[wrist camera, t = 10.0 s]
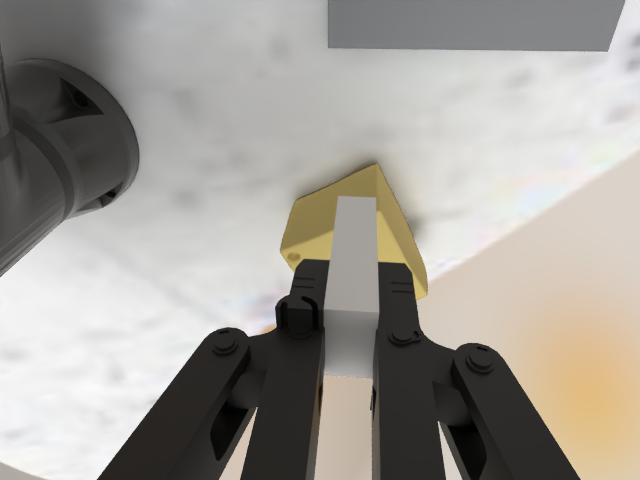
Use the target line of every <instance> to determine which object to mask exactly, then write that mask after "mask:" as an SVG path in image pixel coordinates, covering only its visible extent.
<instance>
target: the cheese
mask: <svg viewBox="0 0 640 480" xmlns="http://www.w3.org/2000/svg"><path fill="white" fill-rule="evenodd" d="M338 196H351V197H375V198H376V217H377V252H378V262H394V263H405V264H406V265H407V266H408V268H409V269H410V270H411V272H412V275H413V282H414V289H415V296H416V300H418V299H421V298H423V297H425V296H427V291H428V284H427V274H426V269H425V266H424V263H423V260H422V257H421V255H420V253H419V251H418V248H417V246H416V243H415V241H414V237H413V234H412V232H411V230H410V228H409V226H408V223H407V221H406V219H405V217H404V214H403V212H402V210H401V208H400V206H399V204H398V202H397V200H396V198H395V196H394V194H393V193H392V191H391V189H390V187H389V185H388V183H387V181H386V179H385V177H384V175H383V173H382V171H381V169H380V166H379V164H378V163H376V164H374V165H371V166H369V167H366V168H364V169H362V170H360V171H358V172H356V173H354V174H352V175H350V176H348V177H346V178H344V179H342V180H340V181H338V182H336V183H334V184H332V185H330V186H328V187H325V188H323V189H321V190H319V191H316V192H314V193H312V194H309V195H307V196H305V197H302V198H300V199H297V200H296V201H295V203H294V205H293V207H292V210H291V212H290V215H289V219H288V222H287V226H286V229H285V232H284V235H283V239H282V243H281V248H280V253H281V255H282V256H283V258H284V259H285V260H286V262H287V263H288V265H289V266H290V268H291V269H292V270H293V272H294V273H295V269H296V267H297V266H298V264H299V263H300V262H301V261H302V260H303V259H320V260H330V256H331V248H332V241H333V233H334V225H335V217H336V210H337V202H338Z"/></svg>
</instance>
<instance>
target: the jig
mask: <svg viewBox="0 0 640 480" xmlns="http://www.w3.org/2000/svg"><path fill="white" fill-rule="evenodd" d="M624 3H625V0H328V48H365V49H444V50H523V51H602V52H608V49H609V46H610V43H611V41H612V38H613V35H614V32H615V29H616V26H617V23H618V20H619V18H620V15H621V12H622V9H623V6H624Z"/></svg>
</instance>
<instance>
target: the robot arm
mask: <svg viewBox="0 0 640 480" xmlns="http://www.w3.org/2000/svg"><path fill="white" fill-rule="evenodd" d="M138 161H139V154H138V145H137V141H136V137H135V134H134V131H133V128H132V126H131V124H130V122H129V120H128V118H127V116H126V115H125V113H124V111H123V110H122V108H121V107H120V106H119V104H118V103H117V102H116V101H115V99H114V98H113V97H112V96H111V95H110V94H109V93H108V92H107V91H106V90H105V89H104V88H103V87H102V86H101V85H100V84H98V83H97V82H96V81H95V80H93V79H92V78H90V77H89V76H87V75H86V74H84V73H83V72H81V71H79V70H77V69H75V68H73V67H71V66H68V65H66V64H63V63H60V62H56V61H52V60H46V59H28V60H23V61H19V62H16V63H13V64H9V65H6V66H4V65H3V58H2V52H1V45H0V277H1V276H2V275H3V274H4V273H5V272H6V271H8V270H9V269H10V268H11V267H12V266H13V265H14V264H15V263H16V262H18V261H19V260H20V259H21V258H22V257H23V256H24V255H25V254H27V253H28V252H29V251H30V250H31V249H32V248H33V247H34V246H36V245H37V244H38V243H39V242H40V241H41V240H42V239H43V238H45V237H46V236H47V235H48V234H49V233H50V232H51V231H52V230H53V229H55V228H56V227H57V226H58V225H59V224H60V223H62V222H63V221H64V220H66V219H69V218H73V217H76V216H79V215H82V214H85V213H88V212H91V211H95V210H98V209H101V208H103V207H105V206H107V205H109V204H110V203H112V202H113V201H115V200H116V199H117V198H118V197H119V196H120V195H121V194H122V193H123V192H124V191H125V190H126V189H127V188H128V187H129V186H130V185H131V183H132V182H133V180H134V178H135V175H136V172H137V168H138ZM275 311H276V323H277V328H275V329H274V330H272V331H270V332H268V333H265V334H261V335H256V336H251V337H248V336H247V335H246V334H245V332H244V331H242V330H240V329H237V328H230V327H227V328H222V329H218V330H216V331H214V332H212V333H210V334H209V335H208V336H207V337H206V338H205V339H204V340H203V341H202V343H201V344H200V345H199V347H198V348H197V349H196V351H195V352H194V353H193V354H192V356H191V357H190V358H189V360H188V361H187V362H186V364H185V365H184V366H183V368H182V369H181V370H180V371H179V373H178V374H177V375H176V377H175V378H174V379H173V381H172V382H171V383H170V385H169V386H168V387H167V389H166V390H165V391H164V392H163V394H162V395H161V396H160V398H159V399H158V400H157V402H156V403H155V404H154V406H153V407H152V408H151V409H150V411H149V412H148V413H147V415H146V416H145V417H144V419H143V420H142V421H141V423H140V424H139V425H138V427H137V428H136V429H135V430H134V432H133V433H132V434H131V436H130V437H129V438H128V440H127V441H126V442H125V444H124V445H123V446H122V447H121V449H120V450H119V451H118V453H117V454H116V455H115V457H114V458H113V459H112V461H111V462H110V463H109V465H108V466H107V467H106V468H105V470H104V471H103V472H102V474H101V475H100V476H99V478H98V479H97V480H219V478H220V476H221V474H222V473H223V470H224V469H225V467H226V465H227V463H228V461H229V459H230V457H231V456H232V454H233V452H234V450H235V448H236V446H237V444H238V442H239V440H240V438H241V437H242V434H243V433H244V431H245V429H246V427H247V425H248V424H249V422H250V420H251V418H252V416H253V414H254V412H255V410H256V407H258V409H257V413H256V417H255V421H254V425H253V429H252V433H251V437H250V441H249V446H248V449H247V454H246V458H245V462H244V466H243V471H242V474H241V478H240V480H314V474H315V465H316V455H317V445H318V435H319V425H320V416H321V406H322V396H323V375H332V376H346V377H359V378H372V379H373V386H372V396H371V406H370V410H372V480H446V476H445V469H444V462H443V455H442V448H441V441H440V434H439V427H438V421H439V422H440V426H441V429H442V431H443V433H444V436H445V438H446V441H447V443H448V445H449V448H450V450H451V452H452V455H453V458H454V460H455V463H456V465H457V467H458V470H459V472H460V475H461V477H462V479H463V480H580V478H579V477H578V475H577V473H576V472H575V470H574V469H573V467H572V466H571V464H570V462H569V461H568V459H567V458H566V456H565V454H564V453H563V451H562V450H561V448H560V447H559V445H558V443H557V442H556V441H555V439H554V437H553V436H552V434H551V433H550V431H549V429H548V428H547V426H546V425H545V423H544V422H543V420H542V418H541V417H540V415H539V414H538V412H537V411H536V409H535V407H534V406H533V404H532V403H531V401H530V400H529V398H528V396H527V395H526V393H525V392H524V390H523V389H522V387H521V385H520V384H519V383H518V381H517V379H516V378H515V376H514V375H513V373H512V371H511V370H510V368H509V367H508V365H507V364H506V362H505V360H504V359H503V358H502V357H501V356H500V354H498V352H497V351H495V350H493V349H492V348H490V347H489V346H486V345H482V344H479V343H467V344H464V345H461V346H460V347H458V349H456V350H453V349H450V348H446V347H443V346H441V345H438V344H436V343H434V342H433V341H431V340H430V339H428V338H427V337H426V336H425V335H424V333H423V331H422V330H421V328H420V325H419V318H418V311H417V304H416V296H415V289H414V282H413V275H412V272H411V270H410V269H409V268H408V266H407V265H406V264H405V263H394V262H378V252H377V217H376V198H375V197H351V196H338V202H337V210H336V217H335V225H334V233H333V241H332V248H331V256H330V260H320V259H303V260H302V261H301V262H300V263H299V264H298V266H297V267H296V269H295V273H294V278H293V282H292V287H291V290H290V294H289V295H287V296H285V297H283V298H282V299H281V300H279V301H278V303H277V305H276V307H275Z"/></svg>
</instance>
